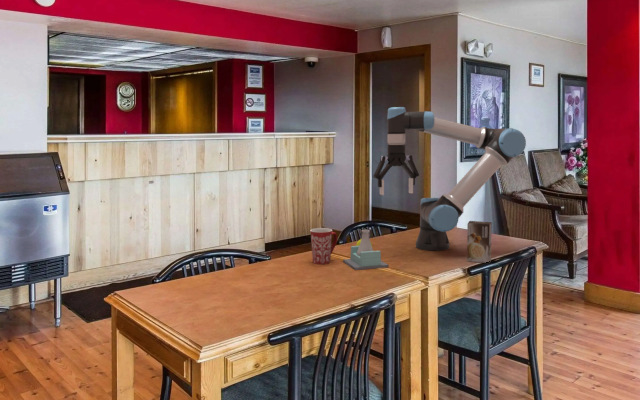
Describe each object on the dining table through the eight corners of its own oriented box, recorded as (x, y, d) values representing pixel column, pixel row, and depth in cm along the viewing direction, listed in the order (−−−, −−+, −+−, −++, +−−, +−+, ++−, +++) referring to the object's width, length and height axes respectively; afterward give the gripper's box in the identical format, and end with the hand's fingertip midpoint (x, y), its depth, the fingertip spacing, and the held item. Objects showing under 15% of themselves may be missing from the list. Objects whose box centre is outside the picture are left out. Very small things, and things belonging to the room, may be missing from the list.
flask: (353, 253, 227) (353, 229, 226) (368, 252, 230) (369, 228, 229) (362, 257, 220) (362, 232, 219) (377, 255, 223) (378, 231, 222)
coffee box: (491, 260, 232) (492, 221, 230) (489, 263, 226) (490, 224, 224) (469, 257, 236) (470, 220, 234) (466, 261, 230) (467, 222, 228)
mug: (319, 266, 224) (319, 232, 222) (306, 261, 231) (305, 229, 229) (343, 261, 231) (343, 229, 230) (330, 257, 239) (330, 226, 237)
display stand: (375, 259, 234) (375, 244, 233) (388, 267, 221) (388, 251, 220) (343, 261, 230) (343, 246, 229) (354, 270, 217) (354, 253, 216)
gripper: (418, 143, 244) (418, 191, 247) (365, 144, 237) (366, 194, 239) (427, 143, 237) (426, 193, 240) (372, 145, 230) (372, 196, 232)
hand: (396, 194), depth 240 cm, fingers open, 13 cm apart
